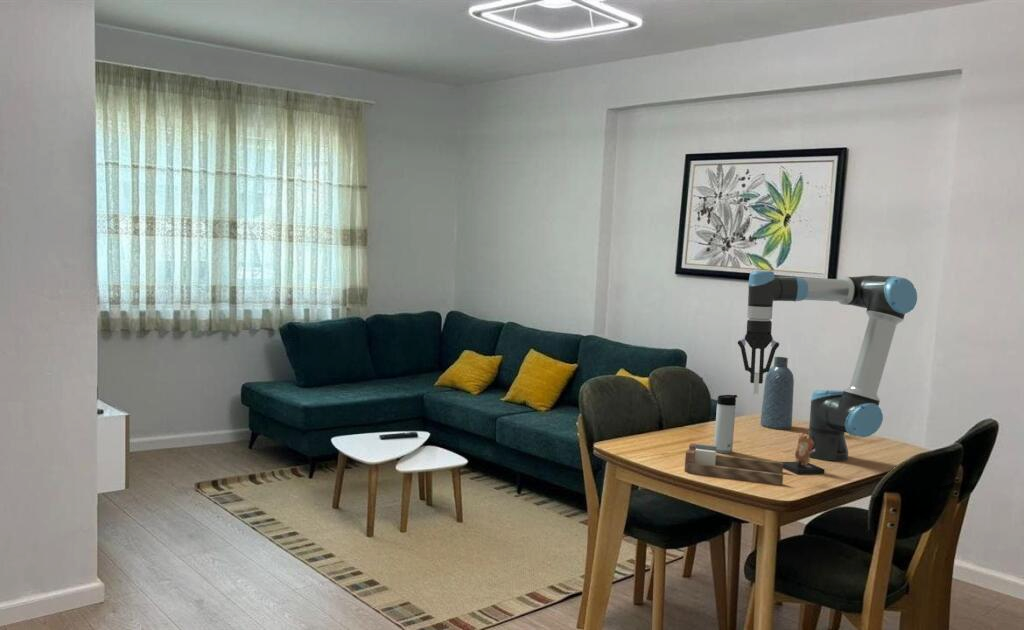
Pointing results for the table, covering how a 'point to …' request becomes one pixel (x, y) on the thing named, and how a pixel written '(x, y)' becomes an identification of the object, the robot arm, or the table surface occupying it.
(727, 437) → the travel mug
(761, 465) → the guide
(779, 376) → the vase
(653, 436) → the table surface
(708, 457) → the block
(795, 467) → the figurine
